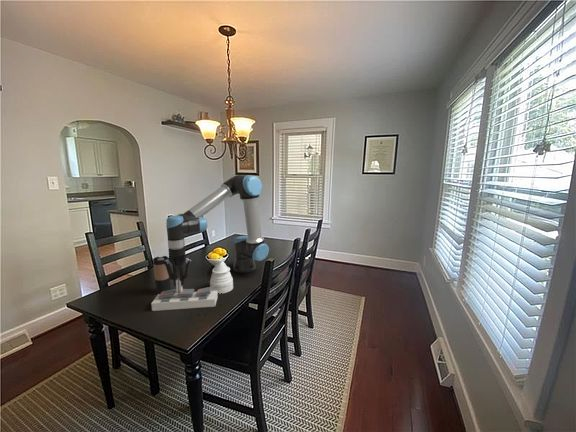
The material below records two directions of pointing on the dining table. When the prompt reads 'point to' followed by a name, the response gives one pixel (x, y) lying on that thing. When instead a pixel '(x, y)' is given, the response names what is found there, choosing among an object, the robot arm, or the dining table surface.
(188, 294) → the rocker mid
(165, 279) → the travel mug
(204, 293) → the rocker
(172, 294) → the rocker
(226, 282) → the honey pot
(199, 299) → the power strip
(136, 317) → the dining table surface
